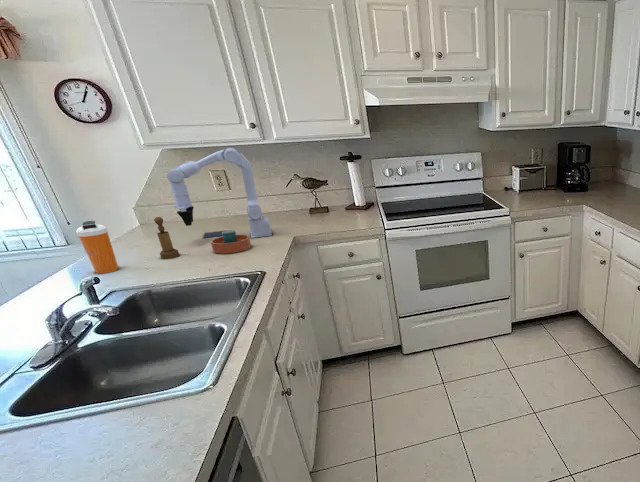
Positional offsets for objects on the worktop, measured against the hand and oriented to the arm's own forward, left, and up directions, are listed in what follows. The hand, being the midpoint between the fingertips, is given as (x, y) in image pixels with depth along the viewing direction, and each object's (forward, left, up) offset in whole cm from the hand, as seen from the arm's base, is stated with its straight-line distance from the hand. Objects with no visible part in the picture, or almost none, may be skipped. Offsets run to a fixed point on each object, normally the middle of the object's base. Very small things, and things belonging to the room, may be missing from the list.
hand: (189, 223), depth 198 cm
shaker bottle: (+28, +26, -10) cm, 40 cm away
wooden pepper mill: (+8, +18, -10) cm, 22 cm away
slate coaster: (-8, -14, -10) cm, 19 cm away
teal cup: (-16, +20, -10) cm, 27 cm away
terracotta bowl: (-16, +20, -10) cm, 27 cm away
